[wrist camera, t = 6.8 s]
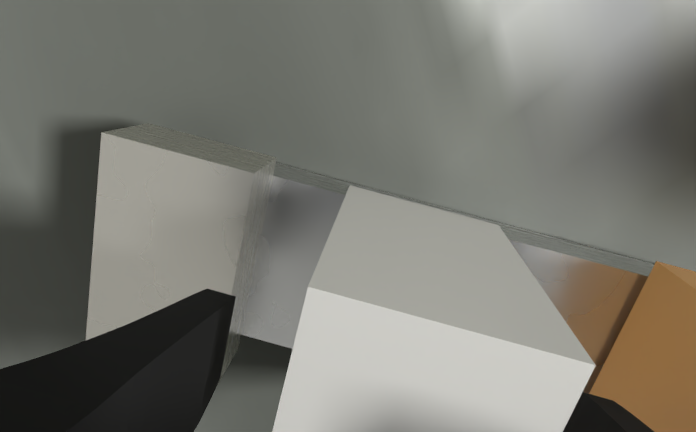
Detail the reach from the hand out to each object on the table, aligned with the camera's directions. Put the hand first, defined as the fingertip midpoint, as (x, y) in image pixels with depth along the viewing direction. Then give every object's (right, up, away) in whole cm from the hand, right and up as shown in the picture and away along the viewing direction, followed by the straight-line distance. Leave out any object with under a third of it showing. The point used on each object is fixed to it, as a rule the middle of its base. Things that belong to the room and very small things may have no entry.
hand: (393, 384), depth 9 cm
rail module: (0, +1, +4) cm, 4 cm away
